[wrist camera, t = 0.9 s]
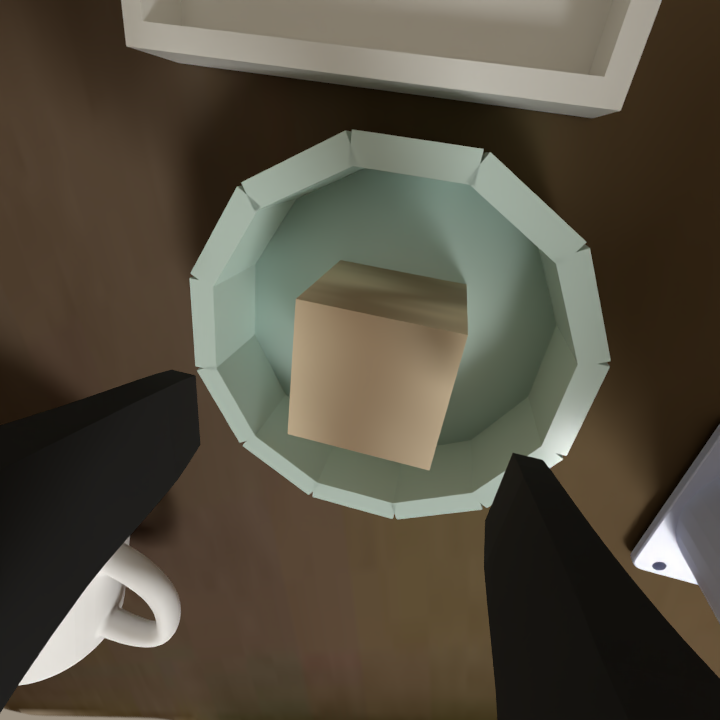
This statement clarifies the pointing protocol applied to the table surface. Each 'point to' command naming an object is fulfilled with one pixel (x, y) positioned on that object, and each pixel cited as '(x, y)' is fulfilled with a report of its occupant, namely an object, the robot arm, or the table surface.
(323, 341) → the maple block
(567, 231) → the green bowl
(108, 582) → the mug
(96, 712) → the table surface
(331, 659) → the table surface
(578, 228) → the table surface
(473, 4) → the white tray
